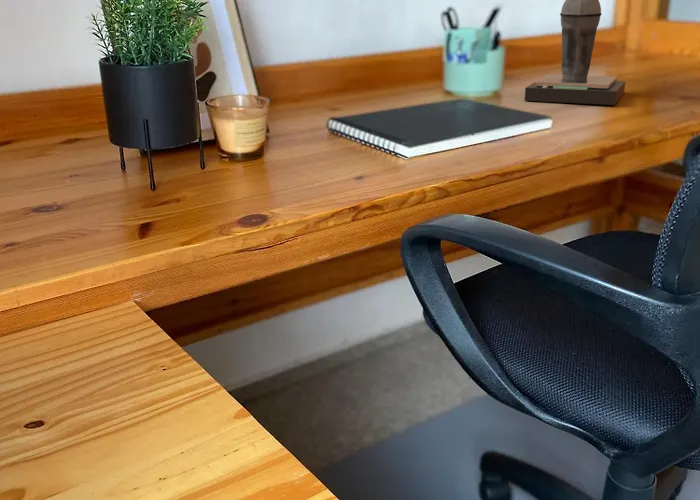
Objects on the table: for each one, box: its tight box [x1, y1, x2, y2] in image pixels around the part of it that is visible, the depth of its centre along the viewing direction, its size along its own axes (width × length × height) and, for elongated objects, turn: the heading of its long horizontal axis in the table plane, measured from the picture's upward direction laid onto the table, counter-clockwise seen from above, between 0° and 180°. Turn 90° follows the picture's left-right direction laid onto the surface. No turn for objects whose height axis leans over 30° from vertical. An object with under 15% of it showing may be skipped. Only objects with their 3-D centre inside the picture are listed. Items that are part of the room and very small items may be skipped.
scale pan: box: [535, 74, 618, 89], centre depth 135 cm, size 13×11×1 cm
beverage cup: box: [559, 0, 602, 81], centre depth 131 cm, size 7×7×20 cm
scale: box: [524, 80, 626, 106], centre depth 135 cm, size 16×14×3 cm
